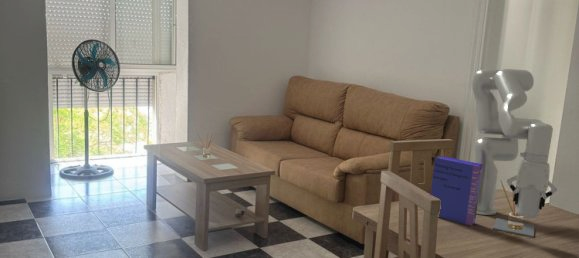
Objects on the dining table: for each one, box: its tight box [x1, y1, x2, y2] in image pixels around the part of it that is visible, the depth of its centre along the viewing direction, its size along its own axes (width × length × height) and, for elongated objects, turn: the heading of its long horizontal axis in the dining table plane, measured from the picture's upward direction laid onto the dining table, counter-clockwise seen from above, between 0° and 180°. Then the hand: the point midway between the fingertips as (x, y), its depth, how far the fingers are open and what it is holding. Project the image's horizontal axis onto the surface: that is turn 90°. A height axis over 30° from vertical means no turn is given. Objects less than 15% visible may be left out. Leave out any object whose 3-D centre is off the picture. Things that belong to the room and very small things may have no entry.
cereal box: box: [430, 155, 483, 227], centre depth 203 cm, size 17×5×24 cm, turn 50°
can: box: [515, 185, 542, 219], centre depth 183 cm, size 8×8×12 cm
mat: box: [492, 217, 535, 238], centre depth 199 cm, size 14×14×1 cm
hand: (528, 205), depth 183 cm, fingers closed on can, 7 cm apart
